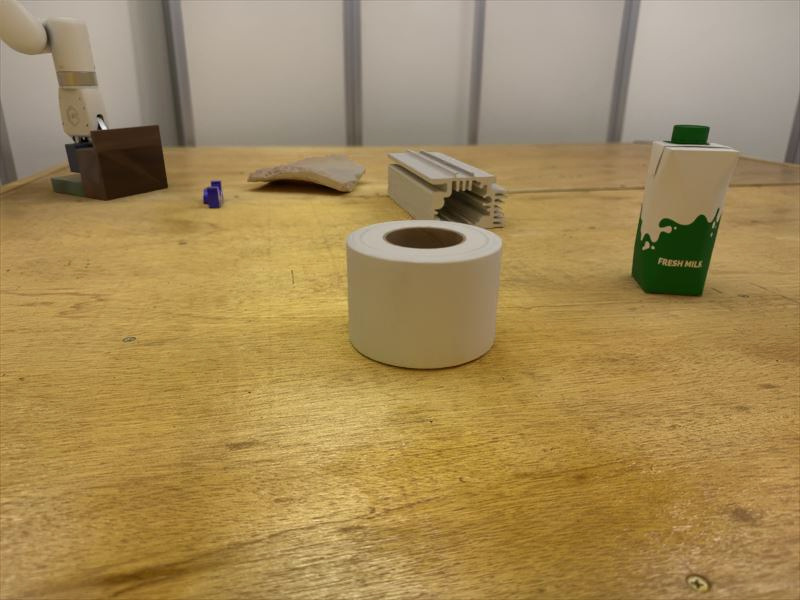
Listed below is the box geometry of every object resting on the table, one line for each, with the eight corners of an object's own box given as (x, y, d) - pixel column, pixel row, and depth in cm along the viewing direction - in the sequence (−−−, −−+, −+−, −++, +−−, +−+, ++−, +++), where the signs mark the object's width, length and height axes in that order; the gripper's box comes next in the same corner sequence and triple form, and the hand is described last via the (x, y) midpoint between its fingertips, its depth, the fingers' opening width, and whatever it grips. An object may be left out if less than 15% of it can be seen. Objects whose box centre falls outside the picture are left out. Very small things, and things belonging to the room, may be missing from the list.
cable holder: (206, 199, 117) (204, 180, 115) (223, 199, 118) (221, 180, 116) (201, 208, 110) (198, 188, 108) (219, 207, 110) (217, 187, 109)
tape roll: (349, 306, 65) (347, 217, 61) (478, 304, 66) (484, 216, 62) (347, 372, 51) (343, 262, 47) (510, 368, 52) (522, 260, 48)
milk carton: (687, 275, 77) (722, 125, 69) (712, 299, 68) (755, 132, 61) (622, 271, 78) (649, 123, 70) (639, 295, 69) (671, 130, 62)
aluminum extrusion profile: (448, 192, 126) (449, 147, 122) (505, 227, 99) (510, 170, 95) (387, 195, 123) (387, 149, 119) (430, 232, 96) (432, 174, 92)
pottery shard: (281, 178, 144) (243, 185, 125) (281, 149, 141) (243, 152, 123) (370, 187, 139) (344, 196, 120) (372, 157, 137) (346, 161, 118)
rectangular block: (70, 172, 123) (64, 144, 120) (110, 165, 131) (105, 139, 128) (80, 173, 121) (74, 145, 119) (120, 166, 129) (115, 140, 127)
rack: (53, 191, 123) (38, 126, 117) (116, 180, 136) (105, 120, 130) (106, 200, 115) (92, 131, 110) (168, 187, 128) (158, 124, 123)
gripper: (37, 80, 119) (57, 166, 126) (86, 82, 112) (104, 173, 119) (70, 80, 125) (87, 162, 132) (118, 81, 118) (134, 168, 125)
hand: (95, 166), depth 126 cm, fingers closed on rectangular block, 3 cm apart
